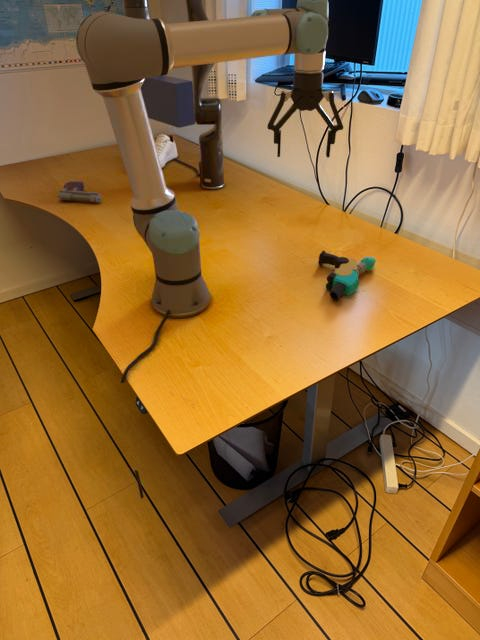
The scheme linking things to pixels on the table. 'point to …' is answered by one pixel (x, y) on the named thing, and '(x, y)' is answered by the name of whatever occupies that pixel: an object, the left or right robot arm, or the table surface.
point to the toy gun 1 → (78, 193)
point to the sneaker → (166, 148)
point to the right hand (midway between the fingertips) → (145, 89)
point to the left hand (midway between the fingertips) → (303, 155)
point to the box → (169, 100)
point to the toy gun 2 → (344, 273)
